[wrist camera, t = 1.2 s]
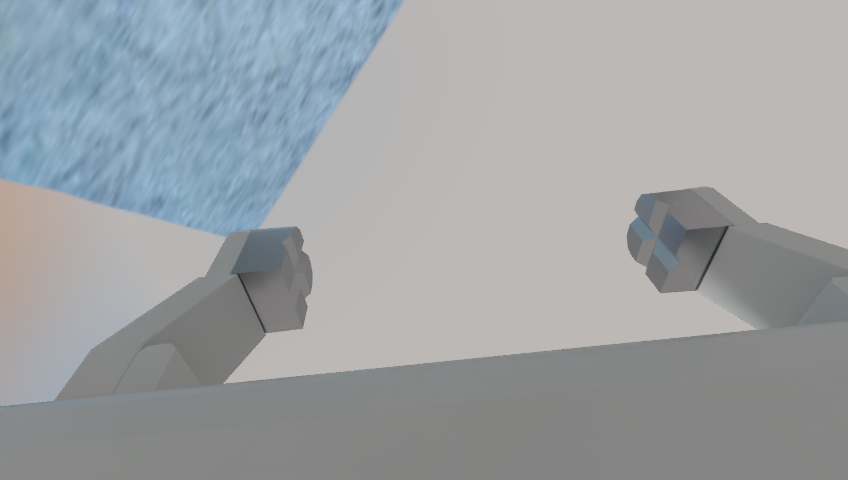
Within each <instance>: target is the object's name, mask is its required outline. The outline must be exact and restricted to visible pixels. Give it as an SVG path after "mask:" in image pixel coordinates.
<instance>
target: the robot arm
mask: <svg viewBox="0 0 848 480" xmlns="http://www.w3.org/2000/svg"><path fill="white" fill-rule="evenodd" d="M635 211H636V213H637V215H638V217H637V218H636V219H635V220H634V221H633V222H632V223H631V224H630V226H629V230H628V233H627V243H628V249H629V251H630V253H631V255H632V257H633V258H634V259H635V261H636V262H638V263H640V264H642V265H644V266H646V267H647V269H646V273H645V274H646V275H647V276H648V278H649V279H650V280H651V282H652V283H653V284H654V285H655V287H656V288H657V289H658V291H659V292H660V293H667V292H668V293H669V292H682V291H696V290H697V293H699V294H701V295H702V296H704V297H706V298H707V299H709V300H710V301H712V302H714V303H715V304H717V305H719V306H721V307H722V308H724V309H725V310H727V311H728V312H730V313H732V314H733V315H735V316H737V317H738V318H740V319H741V320H743V321H745V322H746V323H748V324H750V325H751V326H753V327H754V328H756V329H758V330H750V331H742V332H731V333H722V334H712V335H701V336H691V337H682V338H671V339H661V340H651V341H641V342H632V343H621V344H611V345H601V346H591V347H581V348H571V349H561V350H552V351H542V352H532V353H522V354H513V355H503V356H493V357H483V358H473V359H464V360H455V361H444V362H434V363H424V364H415V365H405V366H395V367H386V368H375V369H366V370H355V371H346V372H336V373H326V374H316V375H307V376H296V377H288V378H277V379H267V380H258V381H248V382H237V383H228V384H223V383H224V382H225V381H226V380H227V378H228V377H229V376H230V375H231V374H232V373H233V372H234V371H235V369H236V368H237V367H238V366H239V365H240V364H241V363H242V361H243V360H244V359H245V358H246V357H247V356H248V355H249V354H250V352H251V351H252V350H253V349H254V348H255V347H256V346H257V345H258V343H259V342H260V341H261V340H262V339H263V338H264V337H265V335H266V334H265V333H272V332H280V331H287V330H295V329H303V325H304V320H305V316H306V311H307V304H306V301H305V298H306V297H307V296H308V295H309V294H310V293H311V288H312V268H311V263H310V260H309V256H308V255H307V254H306V253H304V252H303V251H302V250H301V249H302V246H303V242H304V240H303V237H302V235H301V232H300V229H298V228H297V227H283V228H269V229H256V230H244V231H234V232H231V233H229V234H228V236H227V238H226V239H225V242H224V243H223V245H222V247H221V249H220V250H219V253H218V254H217V256H216V258H215V260H214V262H213V263H212V265H211V267H210V269H209V271H208V272H207V274H206V276H205V277H200V278H197V279H196V280H194V281H192V282H191V283H190V284H188V285H187V286H185V287H183V288H182V289H181V290H179V291H178V292H176V293H175V294H173V295H172V296H170V297H169V298H167V299H166V300H164V301H163V302H161V303H160V304H158V305H157V306H155V307H154V308H153V309H151V310H149V311H148V312H146V313H145V314H143V315H142V316H140V317H139V318H137V319H136V320H134V321H133V322H132V323H130V324H128V325H127V326H125V327H124V328H123V329H121V330H120V331H118V332H117V333H115V334H114V335H112V336H111V337H109V338H108V339H106V340H105V341H103V342H102V343H100V344H99V345H97V346H96V347H94V348H93V349H91V351H90V352H89V354H88V355H87V356H86V358H85V359H84V361H83V362H82V363H81V365H80V366H79V367H78V369H77V370H76V372H75V373H74V374H73V376H72V377H71V378H70V380H69V381H68V383H67V384H66V385H65V387H64V388H63V389H62V391H61V392H60V394H59V395H58V396H57V398H56V399H55V400H54V401H49V402H39V403H29V404H20V405H11V406H0V480H848V249H845V248H842V247H839V246H836V245H832V244H829V243H826V242H823V241H820V240H817V239H814V238H811V237H808V236H805V235H802V234H799V233H796V232H792V231H789V230H787V229H784V228H780V227H777V226H774V225H771V224H768V223H758V222H757V221H756V220H754V219H753V218H752V217H750V216H749V215H747V214H746V213H745V212H744V211H742V210H741V209H740V208H738V207H737V206H736V205H734V204H733V203H732V202H731V201H729V200H728V199H727V198H725V197H724V196H723V195H721V194H720V193H719V192H717V191H716V190H715V189H713V188H710V187H698V188H691V189H684V190H676V191H667V192H660V193H650V194H642V195H641V196H640V198H639V199H638V200H637V203H636V206H635Z"/></svg>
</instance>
